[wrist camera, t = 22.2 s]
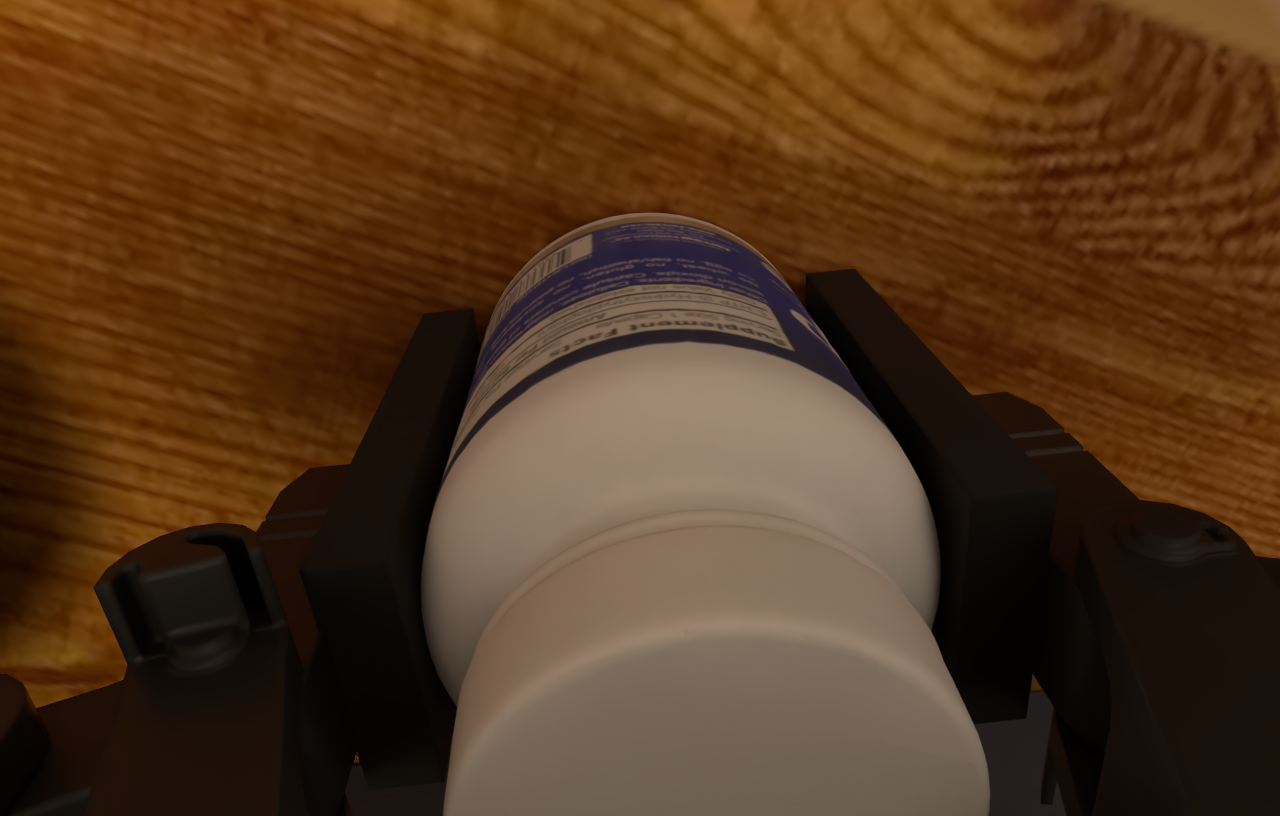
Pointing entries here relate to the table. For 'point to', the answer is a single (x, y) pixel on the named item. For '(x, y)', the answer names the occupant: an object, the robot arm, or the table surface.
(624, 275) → the pill bottle
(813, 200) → the table surface
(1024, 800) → the gray rectangular block
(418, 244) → the table surface
